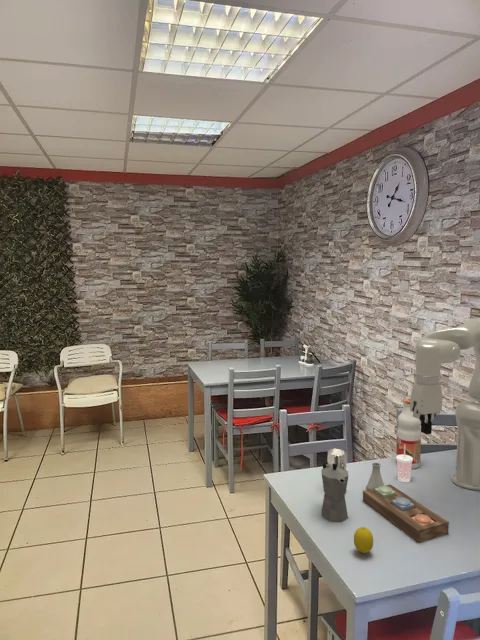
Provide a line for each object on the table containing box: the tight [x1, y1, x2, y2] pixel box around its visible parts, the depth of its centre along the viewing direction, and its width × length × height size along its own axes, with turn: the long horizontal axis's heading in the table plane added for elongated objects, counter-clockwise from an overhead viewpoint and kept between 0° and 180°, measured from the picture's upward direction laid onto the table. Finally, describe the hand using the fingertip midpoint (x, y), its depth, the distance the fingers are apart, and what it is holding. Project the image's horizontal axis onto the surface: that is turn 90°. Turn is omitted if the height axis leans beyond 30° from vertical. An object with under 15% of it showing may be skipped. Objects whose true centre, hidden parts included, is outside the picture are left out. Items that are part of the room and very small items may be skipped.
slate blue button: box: [392, 497, 414, 511], centre depth 152 cm, size 5×5×3 cm
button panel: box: [362, 484, 450, 544], centre depth 152 cm, size 12×27×4 cm, turn 22°
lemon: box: [353, 526, 374, 554], centre depth 133 cm, size 6×6×8 cm
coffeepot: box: [320, 461, 349, 523], centre depth 154 cm, size 15×9×18 cm, turn 13°
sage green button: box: [375, 486, 396, 498], centre depth 160 cm, size 5×5×3 cm
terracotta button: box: [411, 514, 434, 526], centre depth 143 cm, size 5×5×3 cm
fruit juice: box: [396, 397, 422, 470], centre depth 190 cm, size 9×9×28 cm
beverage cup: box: [396, 445, 413, 483], centre depth 178 cm, size 6×6×14 cm
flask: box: [365, 461, 385, 490], centre depth 170 cm, size 7×7×10 cm
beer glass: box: [326, 448, 347, 470], centre depth 170 cm, size 7×7×15 cm
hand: (426, 432), depth 154 cm, fingers closed
